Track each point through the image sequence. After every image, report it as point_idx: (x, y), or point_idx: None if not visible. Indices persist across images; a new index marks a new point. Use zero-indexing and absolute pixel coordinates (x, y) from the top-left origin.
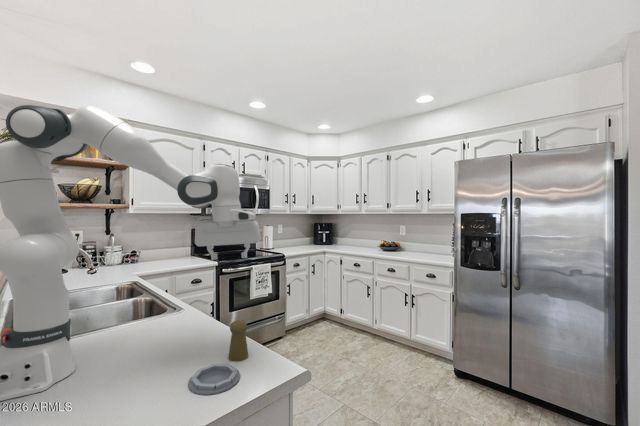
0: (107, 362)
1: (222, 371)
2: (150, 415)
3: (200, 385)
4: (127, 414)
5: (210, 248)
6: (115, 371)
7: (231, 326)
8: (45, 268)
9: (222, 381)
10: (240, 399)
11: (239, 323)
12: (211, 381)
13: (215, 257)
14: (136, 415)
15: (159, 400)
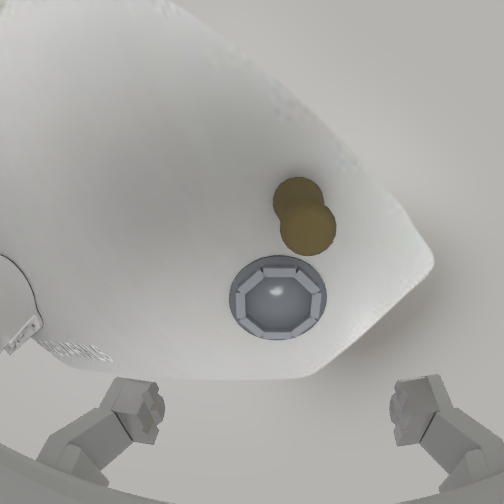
0: (39, 245)
1: (285, 279)
2: (220, 373)
3: (265, 337)
4: (188, 371)
5: (101, 484)
6: (76, 274)
7: (290, 249)
8: None
9: (301, 325)
10: (338, 342)
11: (316, 247)
12: (275, 312)
13: (158, 423)
14: (201, 373)
15: (210, 348)
